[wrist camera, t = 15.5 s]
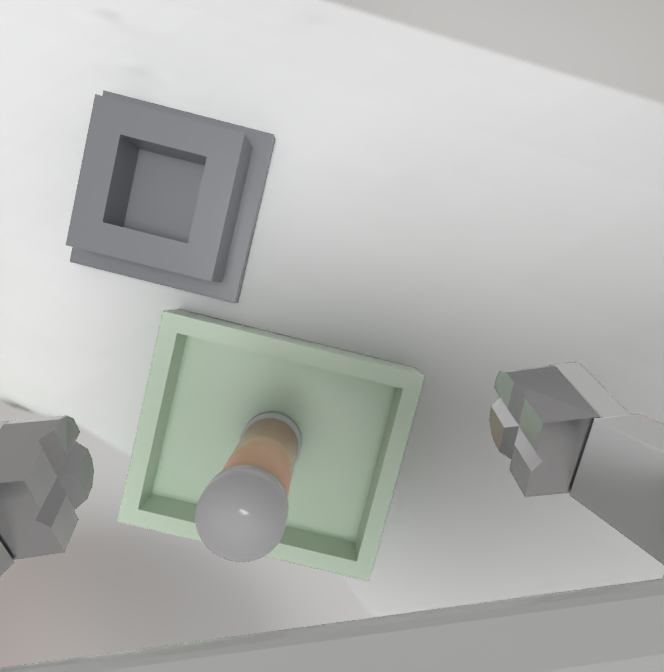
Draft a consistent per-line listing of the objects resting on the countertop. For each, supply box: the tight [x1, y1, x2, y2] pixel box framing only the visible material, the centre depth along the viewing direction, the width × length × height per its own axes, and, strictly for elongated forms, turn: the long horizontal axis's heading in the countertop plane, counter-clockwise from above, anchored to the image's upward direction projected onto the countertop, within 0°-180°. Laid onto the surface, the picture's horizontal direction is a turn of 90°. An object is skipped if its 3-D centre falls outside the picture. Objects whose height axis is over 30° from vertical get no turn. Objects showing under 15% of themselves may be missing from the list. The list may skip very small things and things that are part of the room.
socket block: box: [66, 91, 275, 303], centre depth 32 cm, size 12×12×4 cm
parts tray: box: [118, 309, 425, 581], centre depth 34 cm, size 18×15×4 cm
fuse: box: [195, 411, 302, 562], centre depth 29 cm, size 4×4×12 cm
